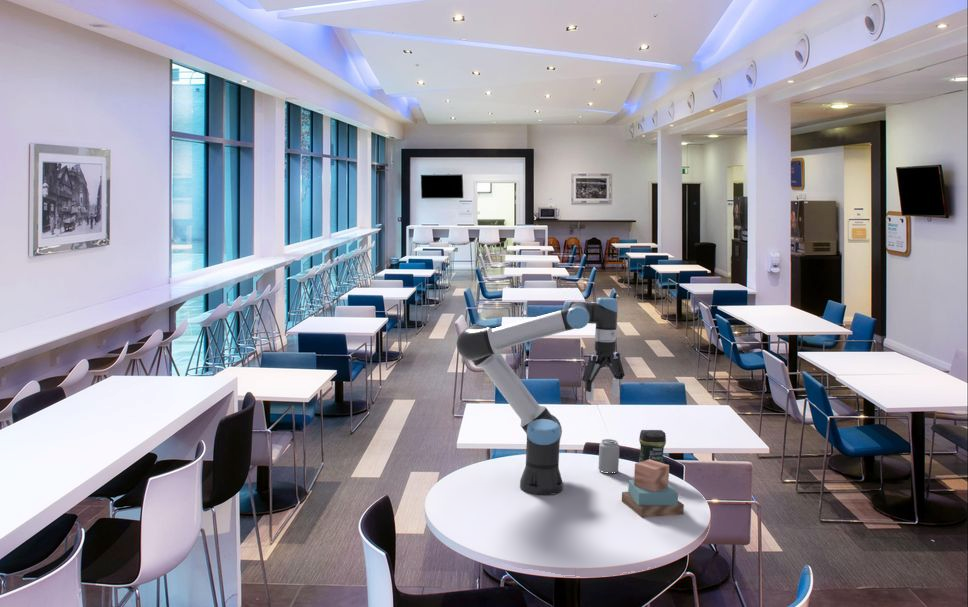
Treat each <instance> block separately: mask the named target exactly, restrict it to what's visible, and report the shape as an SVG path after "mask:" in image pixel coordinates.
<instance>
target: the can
mask: <svg viewBox="0 0 968 607" xmlns="http://www.w3.org/2000/svg"><path fill="white" fill-rule="evenodd" d="M598 446H599V448H598V451H599V452H598V467H597V468H598V470H599V471H600V472H601V471H603V472H608V473H612V472H613V473H614V472H616V473H617V472H618V471H619V465H620V464H619V463H620V444H619V441H618V440H615V439H609V438H607V439H606V438H605V439H602V440H601V442H600V443H599V445H598ZM614 474H615V473H614Z"/></svg>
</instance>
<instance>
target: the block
mask: <svg viewBox="0 0 968 607" xmlns="http://www.w3.org/2000/svg"><path fill="white" fill-rule="evenodd" d="M669 476H670V464H666V463H664V462H663V463H660V462H657V461H654V460H650V459H649V460H646V461H642V462H639V461H638V462H636V463H634V476H633V480H634V486H637V487H640V488H643V489H646V490H649V491H652V492H655V491H658V490H661V489H664V488H667V487H668V483H669V478H670V477H669Z"/></svg>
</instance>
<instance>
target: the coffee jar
mask: <svg viewBox="0 0 968 607" xmlns="http://www.w3.org/2000/svg"><path fill="white" fill-rule="evenodd" d="M666 437H667V435H666V432H665V431H663V430H662V429H642V430H640V433H639V437H638V438H639V439H638V440H639V444H640V452H639V458H638V463H639V462H642V461H646V460H649V459H650V460H654V461H657V462H660V463H664V450H665V446H666V443H667V438H666Z"/></svg>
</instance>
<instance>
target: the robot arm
mask: <svg viewBox="0 0 968 607" xmlns="http://www.w3.org/2000/svg"><path fill="white" fill-rule="evenodd" d="M618 306H619V305H618V300H617V299H616V298H613V297H597V299H596V301H595V302H581V301H579V302H578V301H565V302H564V303H563V306H562V309H561V310H560V309H559V310H557V311H553V312H550V313H547V314H542V315H539V316H535V317H531V318H528V319H527V318H526V319H524V320H520V321H517V322H516V321H515V322H513V323H510V324H506V325H502V326H498V327H495V328H491V327H490V326H489V327H488V326H487V325H484V324H479V323H475V324H471V325H469V326H467V327H466V328H465V329H464V330H463V331H461V333H459V335H458V336H457V340H456V349H457V352H458V354H459V355H460V356H461V357H462V358H464V359H465V360H468V361H471V362H472V363H473V365H474V367H476V368H481V369H482V370H484V373H486V375H487V377H488V378H489V379H490V381H491V382H492V383H493V384H494V386H495V387H496V388H497V390H498V391H499V393H500V394H501V395H502V396H503V398H504V399H505V400H506V401H507V403H508V404H509V406H510V407H511V408H512V410H513V411H514V413H515V414H516V415H517V416H518V418H519V419H520V427H521V428H522V430H523V431H524V432H525V434H526V445H525V446H526V447H525V450H526V452H525V467H524V470H523V472H522V475H521V478H520V480H519V488H520V489H521V490H522V491H523V492H526V493H527V494H528V493H529V494H533V495H538V496H539V495H541V496H545V495H546V496H547V495H548V496H549V495H555V494H559V493H561V492H562V491H563V488H564V487H563V485H564V482H563V478H562V476H561V470H560V469H559V468H560V467H559V464H560V445H561V444H560V443H561V439H562V434H563V429H562V425H561V422H560V420H559V419H558V418H557V417H556V416H555V415H553V414H552V413H551V412H550V411H549V410H548V408H547V407H546V406H544V405H540V404H539V403H538V402H537V401H536V399H535V398H534V396H533V395H532V394H531V393H530V391H529V389H528V388H527V387H526V386H525V384H524V383H523V382H522V380H521V379H520V378H519V377H518V375H517V374H516V372H515V371H514V370H513V368H512V367H511V366H510V364H509V363H508V362H507V361H506V360H505V357H504V356H503V355H502V354H501V352H502V349H506V348H509V347H512V346H516V345H521V344H523V343H527V342H531V341H534V340H538V339H542V338H545V337H549V336H552V335H556V334H560V333H563V332H568V331H571V330H575V329H576V330H580V329H583V328H585V327H586V326H587V325H588V324H595V334H594V338H595V341H594V351H595V354H589V355H588V356H589V358H588V362H587V364H586V368H585V370H584V373H583V374H582V377H581V381H582V382H585V384H586V385H585V391H586V397H585V399H586V401H589V402H593V401H594V393H595V391H594V390H595V382H594V380H595V379H596V378H597V375H598V373H599V372H600V371H601V369H602V368H603V367H608V369H609V370H610V372H611V374H612V375H613V378H612V382H611V383H612V384H611V387H612V388H611V396H613V397H616V398H619V397H620V386H621V380H623V379H624V377H625V376H626V374H625V371H624V367H623V364H622V362H621V353H620V352H616V350H617V346H616V345H617V342H616V340H617V326H618V311H619V310H618Z"/></svg>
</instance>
